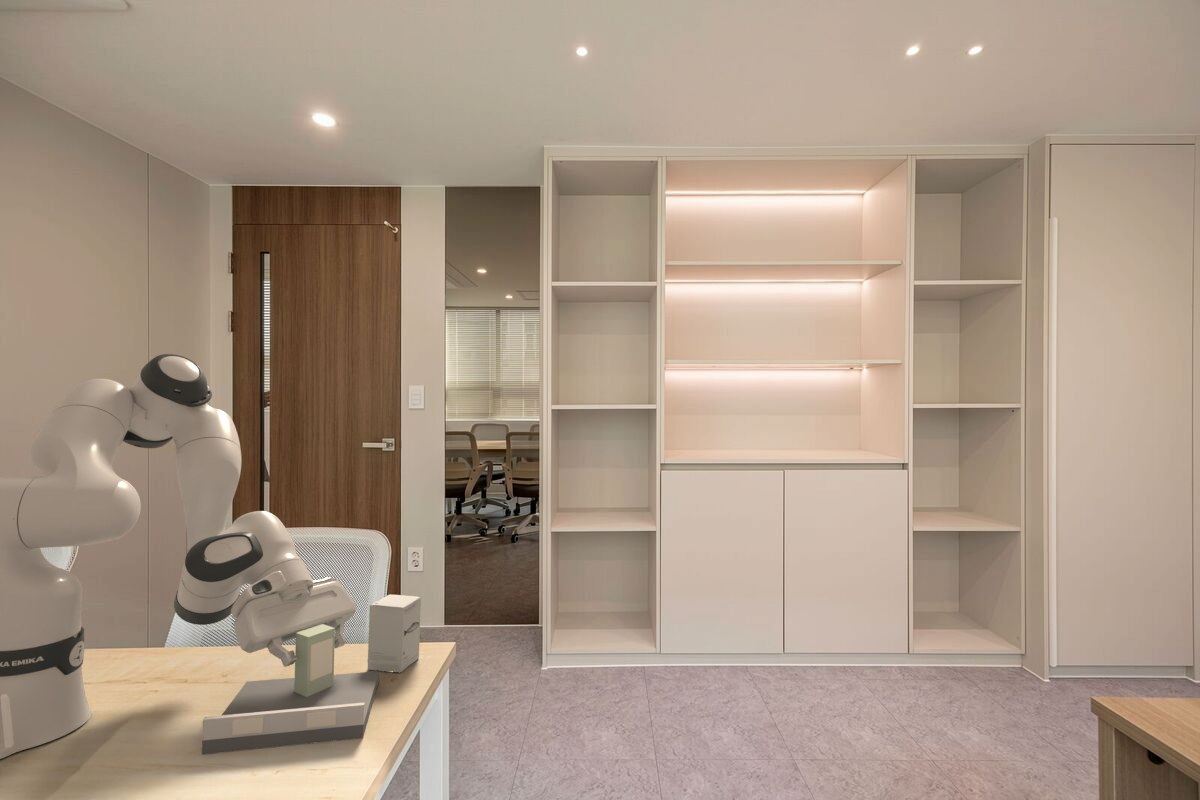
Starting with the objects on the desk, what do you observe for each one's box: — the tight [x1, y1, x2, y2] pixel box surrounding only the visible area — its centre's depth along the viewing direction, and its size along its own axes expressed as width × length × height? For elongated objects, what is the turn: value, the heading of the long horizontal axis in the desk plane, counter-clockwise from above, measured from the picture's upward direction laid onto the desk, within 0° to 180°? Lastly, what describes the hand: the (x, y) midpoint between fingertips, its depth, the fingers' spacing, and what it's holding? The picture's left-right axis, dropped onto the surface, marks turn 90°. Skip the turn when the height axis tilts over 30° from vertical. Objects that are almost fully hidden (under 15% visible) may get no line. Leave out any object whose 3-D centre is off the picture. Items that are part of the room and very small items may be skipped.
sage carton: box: [294, 624, 335, 697], centre depth 103 cm, size 5×4×10 cm
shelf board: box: [201, 670, 380, 755], centre depth 98 cm, size 22×19×5 cm
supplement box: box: [366, 594, 422, 674], centre depth 118 cm, size 7×7×13 cm
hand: (317, 654), depth 103 cm, fingers open, 8 cm apart
